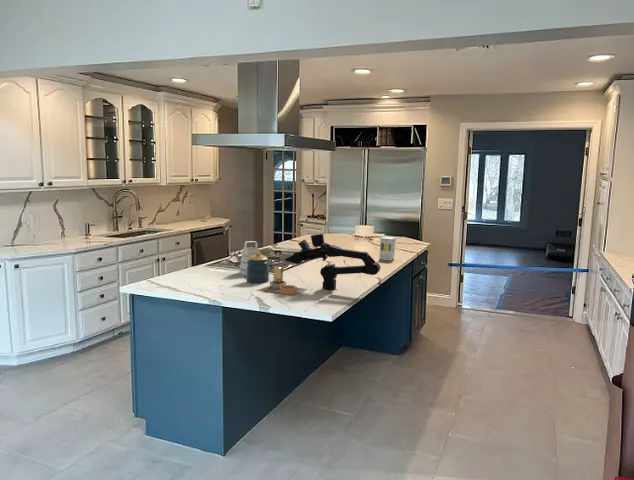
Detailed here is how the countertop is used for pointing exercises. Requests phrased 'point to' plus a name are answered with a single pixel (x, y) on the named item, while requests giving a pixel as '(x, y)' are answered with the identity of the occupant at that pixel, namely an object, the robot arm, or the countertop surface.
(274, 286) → the steel stand collar
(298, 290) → the walnut board
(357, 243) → the countertop surface
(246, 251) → the grater
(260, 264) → the canister
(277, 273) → the brass shaft
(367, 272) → the robot arm
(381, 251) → the supplement box
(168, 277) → the countertop surface
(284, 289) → the ring
